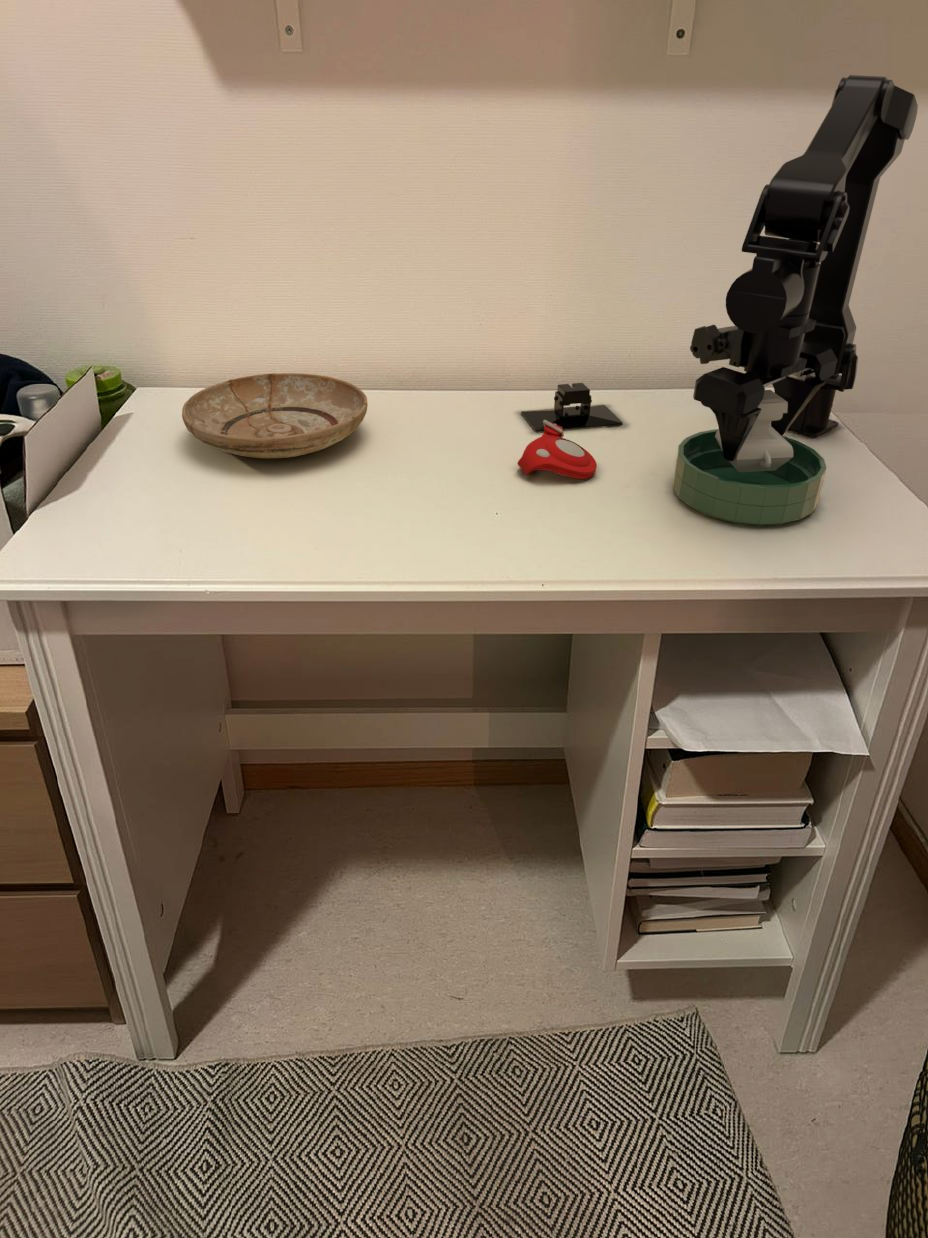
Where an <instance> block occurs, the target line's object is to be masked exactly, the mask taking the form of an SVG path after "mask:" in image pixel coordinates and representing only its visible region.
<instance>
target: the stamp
mask: <svg viewBox="0 0 928 1238" xmlns="http://www.w3.org/2000/svg"><path fill="white" fill-rule="evenodd" d="M774 392H775V391H773V390H772V389H765V392H764V397H763V400H762V401H761V403H760V404H759V406H758V408H761V412H760V414H759V416H758V417H757V419H756V421H755V423H754V425H753V427H752V429H751V431H750V433H749V434H748V436H747V438H746V440H745V442H744V444H743V446H742V448H741V450H740V451H739V453H738V455H737V456H736V458H735V460H734V461H729V462H730V463H731V464H732V465H733V466H734V467H735V468H736V470H737V471H738V472H755V471H774V470H777V469H778V468H779V467H780V466H782V465H783V464H785V463H786V462H787V461H789V460H790V459H791V458H793V448H792V446H791V444H789V443H788V442H787V441H786V440H785V439H784V438H783V437H782V436H781V435H780V434H779V433H778V432H777V431H776V430H775V429H773V428H772V427H771V421H776V420H780V419H781V418H782V416H783V413H787V408H788V402H787V401H785V400H784V399H782V398H781V397H780V396H778V395H777V394H776V393H774ZM717 429H718V430H717V432H716V435H715V437H716V439H717V442H718V444H719V445H720V447H721V449H722V444H721V438H720V433H719V428H717ZM722 451H723V450H722Z"/></svg>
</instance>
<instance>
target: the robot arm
mask: <svg viewBox="0 0 928 1238" xmlns="http://www.w3.org/2000/svg"><path fill="white" fill-rule="evenodd" d="M918 108H919V105H918V102H917V99H916V95H915V94H914V93H912V92H911V91H908V90H905V89H903V88H902V87H899V86H896V85H895V83H894V81H893V79H888V78H887V76H876V75H875V76H873V75H855V74H849V76H847V77H844V76H843V77H842V78H841V79H840V80H839V83H838V86H837V88H836V89H835V91H834V95H833V99H832V103H831V105H830V108H829V109H828V111H827V113H826V115H825V117H824V119H823V120H822V122H821V123H820V126H819V127H818V129H817V130H816V132H815V134H814V136H813V137H812V139H811V141H810V143H809V145H808V146H807V147H806V150H805V151H804V152H803V154H802V155H800V156H797V157H795V158H793V159H790V160H788V161H785V163H783V164H782V165H781V166H780V167H779V169H778V170H777V172H776V173H775V174H774V175H773V177H772V178H771V179H770V182H769V184H768V183H767V184H765V185H764V186H763V188H762V190H761V193H760V196H759V198H758V201H757V204H756V207H755V209H754V213H753V215H752V217H751V221H750V222H749V223H750V224H749V226H748V229H747V232H746V234H745V237H744V240H743V242H742V246H741V252H742V253H747V254H753V255H754V254H755V256H754V258H753V261H752V267H751V268H750V269H748V270H747V271H745V272H744V273H742V274H741V275H739V276H738V277H737V278H736V279H735V280H734V281H733V282H732V283H731V284H730V286H729V289H728V291H727V292H726V295H725V309H726V314H727V316H728V317H729V320H730V322H731V323H732V324H733V325H732V326H724V327H720V328H718V327H717V325H716V324H710V325H707V326H706V325H704V326H700V327H697V328H695V329H694V331H693V335H692V339H691V343H690V344H691V345H690V346H689V350H690V352H691V353H692V356H693V357H694V358H695V359H699V363H700V364H701V365H706V364H709V363H710V362H715V361H716V362H717V361H725V360H729V361H728V366H732V367H735V368H743V372H741V371H739V370H735V369H732V368H728V367H724V366H722V367H720V368H717V369H714V370H711V371H708V372H706V373H703V374H702V375H701V376H699V377H698V378H696V380H695V383H694V388H693V389H694V390H693V395H692V398H693V400H694V401H697V402H700V404H701V406H704V407H706V408H707V409H708V408H709V410H711V412H712V413H713V414H714V416H715V420H716V423H717V426H718V427H717V428H718V429H719V433H720V438H721V444H722V450H723V455H724V459H726V460H728V461H734V460H735V458H736V456H737V455H738V453H739V451H740V450H741V448H742V446H743V444H744V442H745V440H746V438H747V436H748V434H749V433H750V431H751V429H752V427H753V425H754V423H755V421H756V419H757V417H758V416H759V414H760V412H761V408H758V406H759V404H760V403H761V401H762V400H763V397H764V392H765V390H766V387H768V386H770V385H771V386H772V387H773V390H774V391H773V392H774V393H776V394H777V395H778V396H780V397H781V398H782V399H784V400H785V401H787V402H788V408H787V413H783V416H782V418H781V419H780V420H776V421H771V422H770V426H771V427H772V428H773V429H775V430H776V431H777V432H778V433H779V434H780V435H781V436H785V433H786V432H787V431H788V430H790V431H793V432H796V433H799V434H802V435H805V436H808V437H811V438H816V437H818V436H820V435H822V434H824V433H826V432H828V431H831V430H832V429H835V428H837V427H838V426H839V422H838V421H837V420H833V419H830V416H831V413H832V408H833V405H834V400H835V395H836V392H837V391H838V392H841V393H844V392H845V391H846V390H847V391H848V390H853V389H854V386H855V383H856V382H855V381H856V377H857V373H858V362H859V356H858V355H857V344H855V343H854V340H855V338H856V337H855V336H856V332H857V326H856V322H855V320H854V316H853V313H852V311H851V308H850V302H851V297H852V293H853V290H854V285H855V281H856V277H857V273H858V268H859V264H860V261H861V257H862V252H863V248H864V244H865V241H866V236H867V232H868V228H869V224H870V221H871V217H872V216H871V215H872V211H873V209H874V208H873V207H874V204H875V201H876V200H875V199H876V196H877V192H878V187H879V184H880V179H881V177H882V176H883V175H885V173H886V171H887V170H889V168H890V167H891V166H892V164H894V162H895V161H896V160H897V159H898V157H899V156H900V155H901V153H902V151H903V147H904V145H905V141H908V140H910V137H911V135H912V133H913V130H914V127H915V123H916V120H917V116H918V110H919V109H918ZM763 230H764V232H763ZM762 232H763V233H764V235H761V234H762Z"/></svg>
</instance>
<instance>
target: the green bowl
mask: <svg viewBox="0 0 928 1238" xmlns="http://www.w3.org/2000/svg"><path fill="white" fill-rule="evenodd" d="M718 429H719V428H715V429H709V430H703V431H699V432H697V433H694V434H691V435H689V436H687V437H685V438H684V439H683V440H682V441H681V442H680V443H679V444H678V448H677V453H676V460H675V467H674V472H673V473H674V474H673V480H672V489H673V491H674V492H675V494H676V496H677V497H678V498H679V499H680V500H681V502H683V503H685V504H687V505H688V506H689V507H690V508H692V509H693V510H694V511H696V512H699V513H701V514H702V515H705V516H708V517H710V518H713V519H716V520H719V521H722V522H728V523H731V524H736V525H737V524H738V525H744V526H757V527H758V526H759V527H761V526H763V527H764V526H777V525H783V524H787V523H788V524H789V523H791V522H794V521H799V520H802V519H803V518H805V517H807V516H808V515H810V514H812V513H814V511H815V509H816V507H817V505H818V504H819V499H820V496H821V492H822V488H823V485H824V484H823V483H824V480H825V476H826V472H827V464H826V460H825V458H824V457H823V456H822V455H821V454H820V453H818V451H816V450H815V449H814V448H812V447H810V446H808V445H807V444H806V443H805V444H804V443H803V442H801V441H799V440H796V439H793V438H790V437H787V436H785V435H783V436H782V437H783V438H784V439H785V440H786V441H787V442H788V443H789V444H791V446H792V448H793V458H791V459H790V460H789V461H787V462H786V463H785V464H783V465H782V466H780V467H779V468H778V469H777V470H774V471H755V472H738V471H737V470H736V468H735V467H734V466H733V465H732V464H731V463H730V462H729V461H728V460H726V459H724V455H723V451H722V449H721V447H720V445H719V444H718V442H717V439H716V437H715V435H716V432H717V430H718Z"/></svg>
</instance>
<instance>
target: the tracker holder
mask: <svg viewBox="0 0 928 1238" xmlns="http://www.w3.org/2000/svg"><path fill="white" fill-rule="evenodd" d="M543 424H544V427H545V428H544V431H545V432H542V435H541V436H539V437H537V438H535V439H534V440H531V442H529V443H528V444H527V445H526V447H525V449H524V450H523V453H522V455H521V457H520V459H518V461H517V465H518V466H519V468H520V469H521V470H522V471H523V472H524V473H525V474H526V475H527V476H529V475H531V474H533V472H535V471H551V472H553V473H555V474H558V475H561V476H564V477H569V478H573V479H578V480H586V479H590V478H592V477H593V476H594V474H595V472H596V471H597V467H598V464H597V461H596V459H595V457H594V456H593V455H592V454H591V453H590V452H589V451H588V450H587V449H585V448H584V447H582V446H581V445H579V443H576V442H575V441H572V440H570V439H567V438H564V436H565V435H564V430H562V429H563V428H562V427H560V426H558V425H557V424H553V423H550V422H548V421H546V420H544V421H543Z"/></svg>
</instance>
